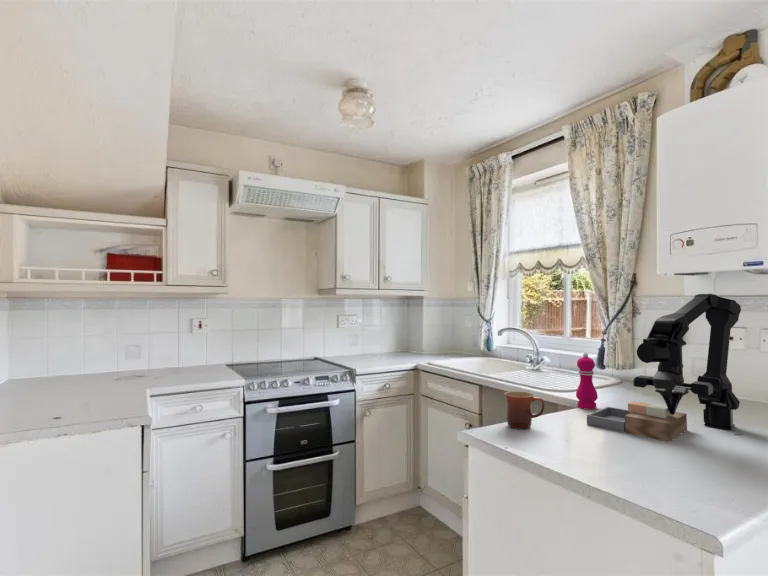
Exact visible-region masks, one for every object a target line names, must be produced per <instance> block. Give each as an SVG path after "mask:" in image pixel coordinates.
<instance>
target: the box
mask: <svg viewBox="0 0 768 576" xmlns="http://www.w3.org/2000/svg"><path fill="white" fill-rule="evenodd" d="M629 413H632V412H628V409H625V408H624V409H623V408H618V407H611V406H605V407H602V408H600V409H597V410H596V411H593V412H590V413H588V414H586V425H587V426H591V425H592V426H593V427H595V428H596V427H597V428H602V429H606V430H611V431H616V432H620V433H625V415H627V414H629ZM592 426H591V427H592Z"/></svg>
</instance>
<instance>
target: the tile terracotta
mask: <svg viewBox="0 0 768 576" xmlns="http://www.w3.org/2000/svg"><path fill="white" fill-rule="evenodd" d="M650 404H651V403H649V402H643V401H642V402H641V401H636V400H634V401H633V400H632V401H630V402H628V403H627V410H628V412H632V413H638V414H644V415H646V406H648V405H650Z"/></svg>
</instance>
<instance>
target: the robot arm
mask: <svg viewBox="0 0 768 576" xmlns="http://www.w3.org/2000/svg"><path fill="white" fill-rule="evenodd" d="M741 311H742V308H741V304H739V303H738V302H737V301H736V300H735V299H729V298H727V297H726V298H725V297H722V296H718V295H716V294H715V293H699V294H695V296H693V298H692V299H691V300H690V301H688V302H687V303H685V304H684V305H683V306H682V307H680V308H679V309H678V310H676V311H675V312H673V313H669V314H665V315H663V316H660V317H658V318H656V320H655V321H654V322H653V325H652V327H651V329H650V331H649V333H648V335H647V337H646V338H643V339H642V343H640V344H639V345H638V347H637V349H636V355H637V357H638V359H639V360H640V361H641V362H643V363H645V364H648V363H658V364H657V371H656V372H655V373H654V375H653V376H652V375H651V376H650V375H638V376H635V377H634V378H633V383H632V386H633V387H636V388H646V387H647V386H651V387H652V386H654V388H655V389H654V391H655V393H659V394H660V395H661V397H662V399H663V401H664V402H665V406H667V407H668V410H669V412H670V414H671V415H674V414H675V412H677V410H678V407H679V405H680V401H681V400H682V398H683V397H684V396H686V395H687V394H689V391H691V392H692V394H693V395H697V398H698V401H699V404H700V405H705V406H704V407H705V408H704V409H703V410H702V411H703V412H702V413H703V423H704V424H703V425H704V426H705V427H711V428H716V429H717V428H718V429H721V430H723V429H724V430H728V431H731V430H733V428H734V427H736V426H735V425H736V424H734V413H733V412H734V410H735V411H736V410H738V409H739V406H740V402H741V401H740V400H739V399H738V397H737V396H736V395H735V393H734V392H733V385H732V382H731V381H730V379H729V377H728V376H727V372H728V371H727V369H728V360H729V359H728V358H729V350H730V338H731V330H732V328H733V327H734V326H735V325H736V324H737V323H738V321H739V317H740V314H741ZM703 314H705V319H706V321H707V323H708V324H709V326H710V330H709V341H708V353H707V359H706V360H707V361H706V370H705V372H704V373H703V374H702V375H698V377H697V380H696V381H695V380H694V382H692V383H690V382H689V383H687V382H685V379H684V373H683V369H684V364H683V350H682V349H683V346H686V345H687V342H686V341H685V340H683V337H684V336H686V334H687V332H689V331H690V324H691V323H693V322H694V321H696V319H698V318H699V317H700V316H702V315H703Z"/></svg>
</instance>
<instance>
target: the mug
mask: <svg viewBox="0 0 768 576" xmlns="http://www.w3.org/2000/svg"><path fill="white" fill-rule="evenodd" d="M503 395H504V399H505V401H506V423H507V426H508V427H509V428H511V429H514V430H520V429H524V430H528V429H530V428H531V426H532V421H533V419H534V418H535V419H536V418H538V417H540V416H542V414H543V413H544V411H545V406H546V405H545V401H544V399H543V398H541V397H539V396H534V394H533V393H531V392H528V391H521V390H519V391H517V390H511V391H506V392H504V393H503ZM535 401H540V402H541V405H540V406H541V408H540V411H538V412H537V413H533V412H532V403H533V402H535Z"/></svg>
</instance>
